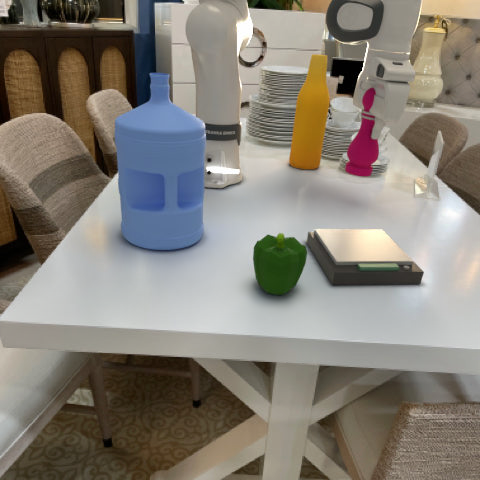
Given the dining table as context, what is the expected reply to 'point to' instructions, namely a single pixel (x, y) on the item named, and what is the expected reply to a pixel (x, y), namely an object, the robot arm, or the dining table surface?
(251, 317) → the dining table surface
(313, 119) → the beer bottle
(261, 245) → the bell pepper
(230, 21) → the robot arm
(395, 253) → the scale
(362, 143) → the pepper mill
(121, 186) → the water jug
